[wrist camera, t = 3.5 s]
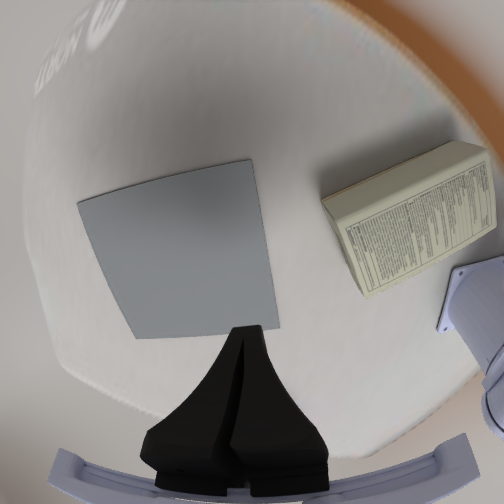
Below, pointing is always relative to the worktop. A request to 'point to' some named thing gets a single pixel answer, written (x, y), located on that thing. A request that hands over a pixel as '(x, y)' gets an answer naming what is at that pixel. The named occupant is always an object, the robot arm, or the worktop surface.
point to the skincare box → (413, 214)
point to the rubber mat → (185, 253)
